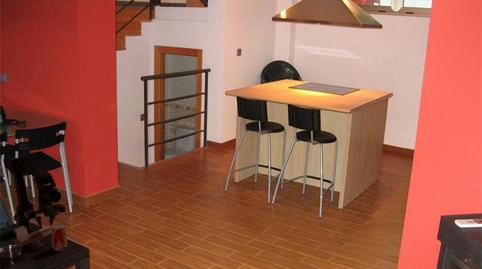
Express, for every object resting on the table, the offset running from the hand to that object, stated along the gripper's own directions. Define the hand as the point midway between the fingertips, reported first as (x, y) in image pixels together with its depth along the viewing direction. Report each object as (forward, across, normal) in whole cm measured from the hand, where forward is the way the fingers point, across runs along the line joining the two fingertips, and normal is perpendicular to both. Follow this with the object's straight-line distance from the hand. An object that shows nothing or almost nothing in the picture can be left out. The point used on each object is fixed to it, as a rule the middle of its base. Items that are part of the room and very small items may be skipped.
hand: (45, 227), depth 261 cm
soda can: (+8, +3, -11) cm, 14 cm away
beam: (+4, -6, 0) cm, 7 cm away
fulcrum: (+8, -6, 0) cm, 10 cm away
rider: (+4, -11, 0) cm, 12 cm away
